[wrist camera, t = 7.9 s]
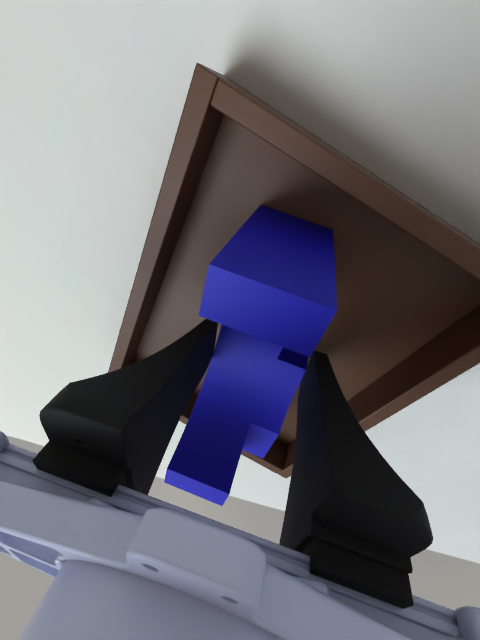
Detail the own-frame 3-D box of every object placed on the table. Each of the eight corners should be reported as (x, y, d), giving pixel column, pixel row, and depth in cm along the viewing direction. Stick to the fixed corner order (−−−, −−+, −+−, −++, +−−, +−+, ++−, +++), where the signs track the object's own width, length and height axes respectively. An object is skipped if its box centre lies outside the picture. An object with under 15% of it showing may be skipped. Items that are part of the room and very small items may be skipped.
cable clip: (271, 414, 18) (251, 518, 13) (206, 389, 18) (164, 482, 13) (370, 242, 11) (403, 334, 6) (260, 204, 11) (209, 264, 6)
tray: (528, 276, 11) (572, 309, 9) (290, 446, 20) (286, 479, 19) (222, 74, 10) (196, 61, 8) (127, 355, 19) (105, 380, 18)
